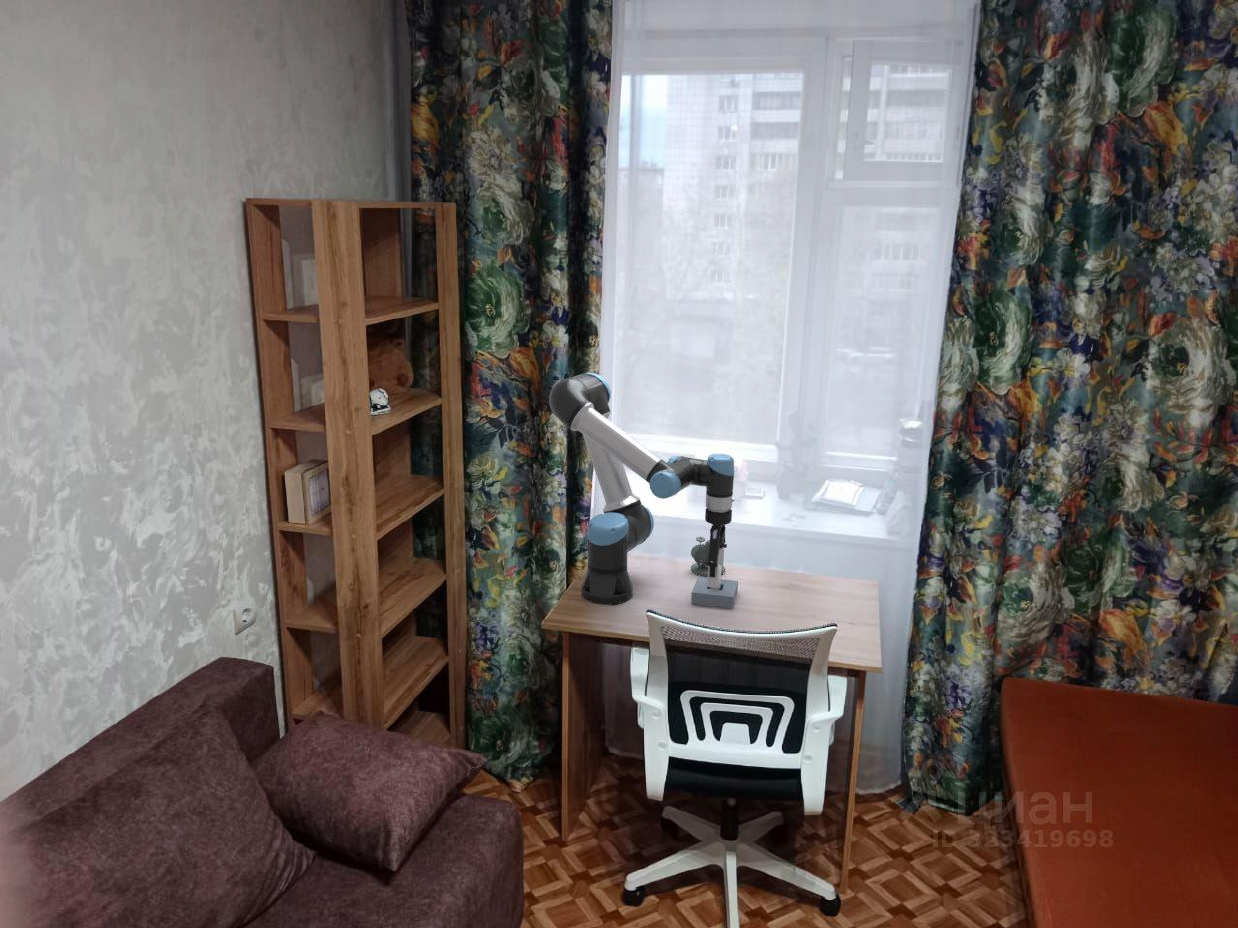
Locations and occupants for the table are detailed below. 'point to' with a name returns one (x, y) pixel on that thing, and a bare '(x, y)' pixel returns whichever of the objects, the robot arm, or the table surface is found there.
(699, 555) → the figurine
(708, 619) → the table surface
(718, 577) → the peg
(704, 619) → the table surface
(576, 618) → the table surface
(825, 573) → the table surface
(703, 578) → the hole block
